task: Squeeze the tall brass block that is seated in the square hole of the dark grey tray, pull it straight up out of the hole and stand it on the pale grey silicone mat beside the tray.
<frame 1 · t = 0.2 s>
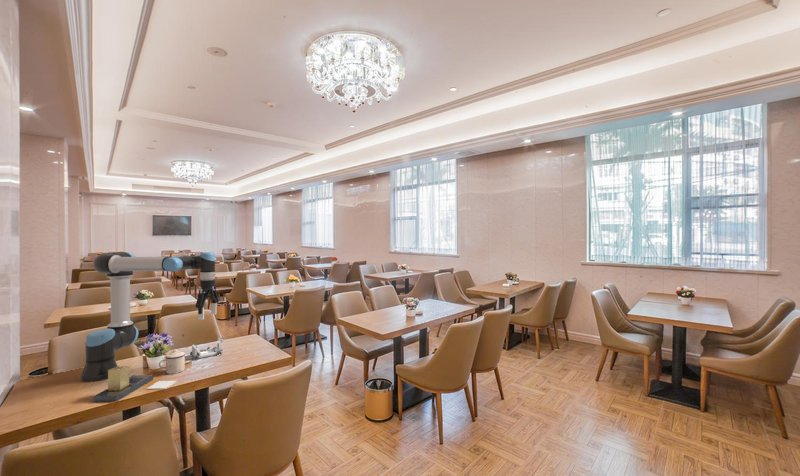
hand: (207, 317, 199), 28 cm above the table, fingers open, 13 cm apart
brass block: (118, 393, 164), resting in dark grey tray
mat: (162, 385, 173), on the table
silver irregular piece: (208, 355, 219), on the table
dark grey tray: (125, 390, 168), on the table
teacup with lid: (172, 372, 191), on the table
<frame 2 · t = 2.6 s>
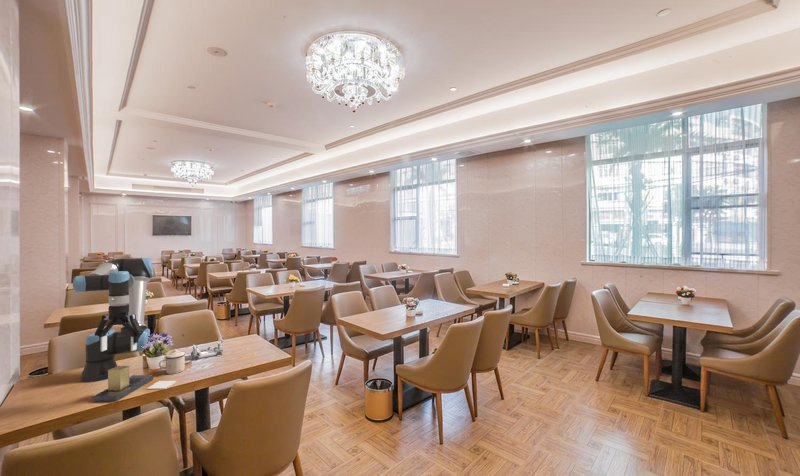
hand: (118, 350, 164), 20 cm above the table, fingers open, 13 cm apart
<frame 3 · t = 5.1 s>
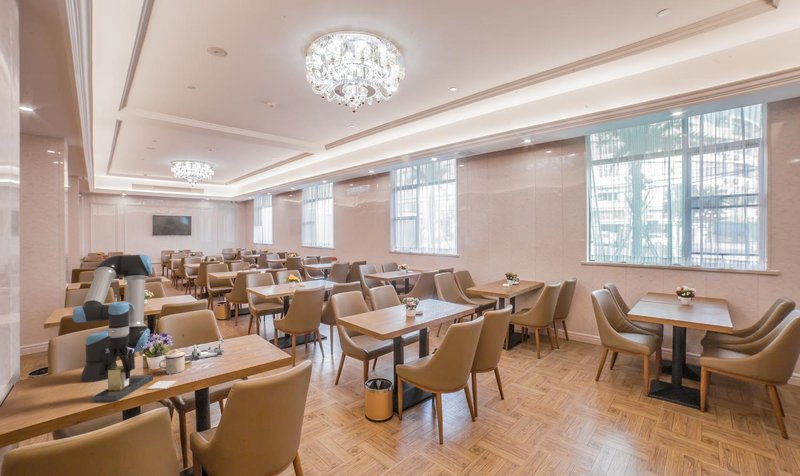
hand: (118, 385, 164), 4 cm above the table, fingers closed on brass block, 5 cm apart
brass block: (118, 393, 164), resting in dark grey tray, touching gripper
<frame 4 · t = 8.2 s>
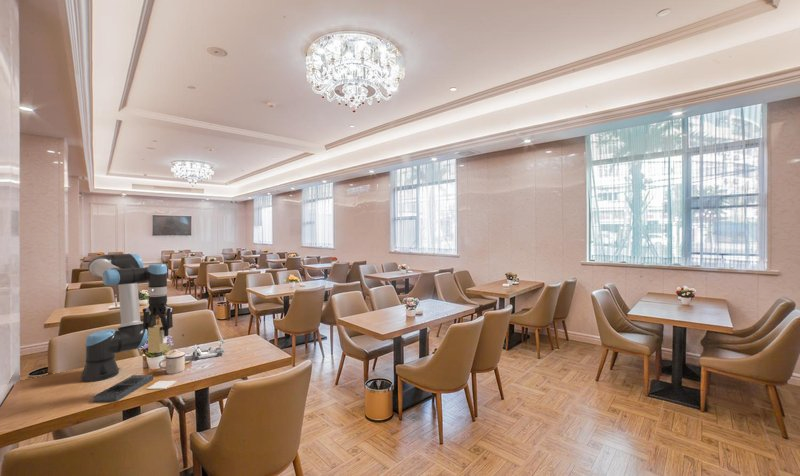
hand: (158, 342, 172), 21 cm above the table, fingers closed on brass block, 5 cm apart
brass block: (157, 350, 172), point 17 cm above the table, touching gripper
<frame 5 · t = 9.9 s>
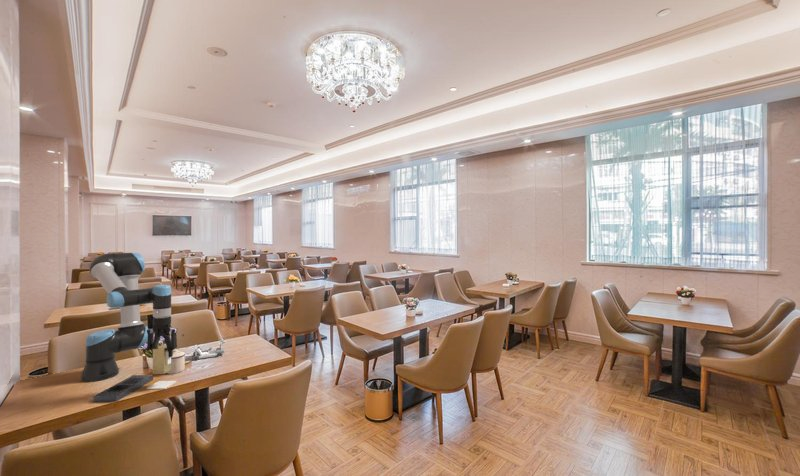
hand: (162, 363, 173), 11 cm above the table, fingers closed on brass block, 5 cm apart
brass block: (162, 371, 173), point 7 cm above the table, touching gripper
when the fingers open (6 cm above the table, at t = 11.4 s): brass block drops 2 cm, resting on mat.
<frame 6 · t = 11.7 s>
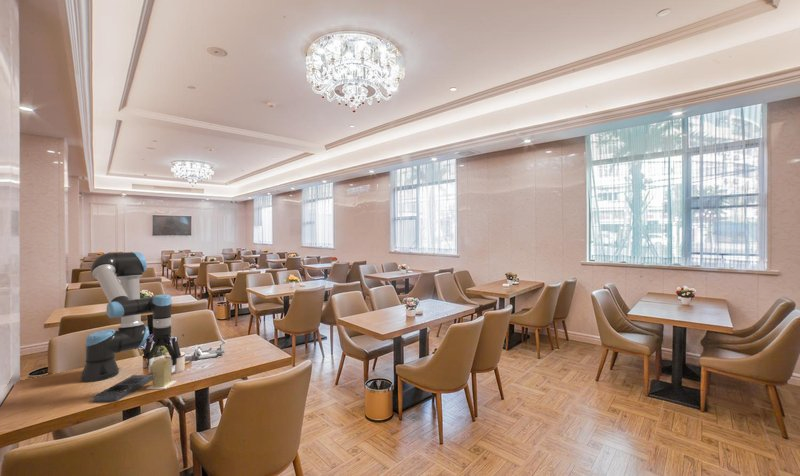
hand: (162, 371, 173), 7 cm above the table, fingers open, 9 cm apart
brass block: (161, 384, 173), resting on mat
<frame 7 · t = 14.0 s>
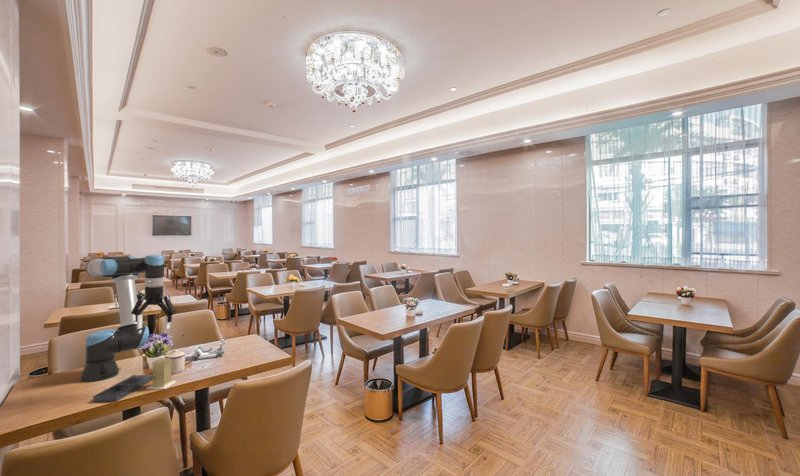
hand: (153, 328, 176), 27 cm above the table, fingers open, 13 cm apart
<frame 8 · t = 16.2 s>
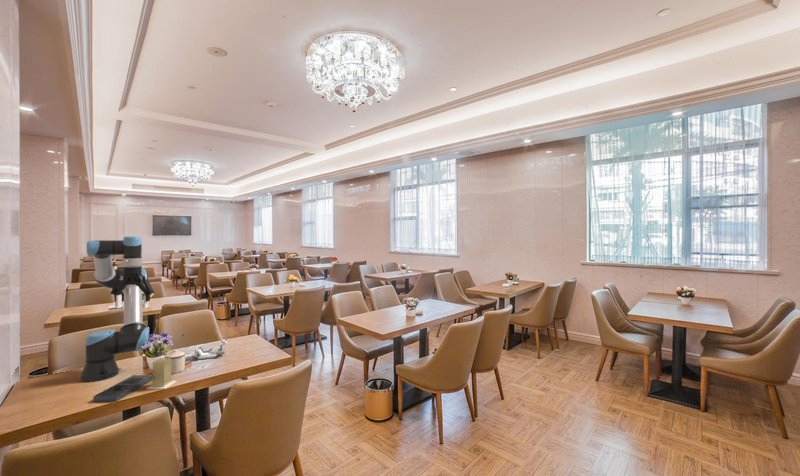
hand: (132, 307, 181), 37 cm above the table, fingers open, 13 cm apart
at the end: brass block inside the target area on the mat (0.0 cm from its centre), point 0.4 cm above the mat's base; brass block tilted 0°; the gripper is holding nothing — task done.
